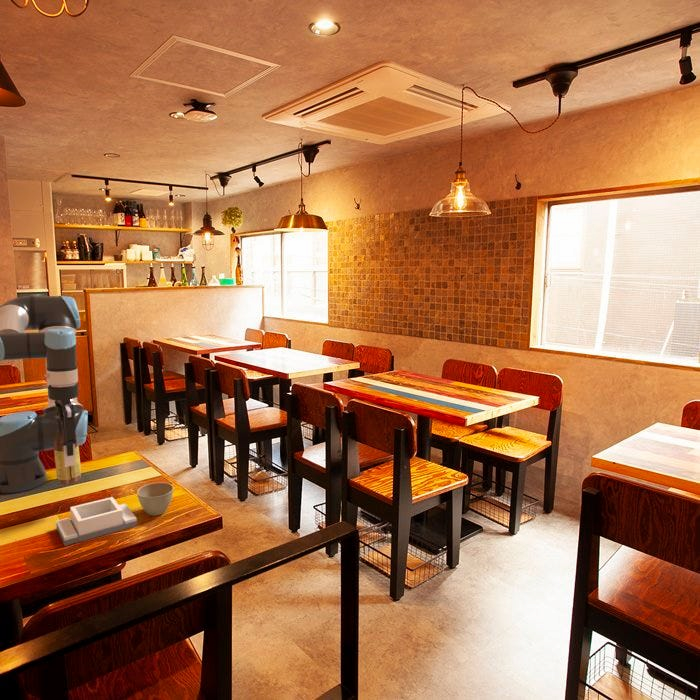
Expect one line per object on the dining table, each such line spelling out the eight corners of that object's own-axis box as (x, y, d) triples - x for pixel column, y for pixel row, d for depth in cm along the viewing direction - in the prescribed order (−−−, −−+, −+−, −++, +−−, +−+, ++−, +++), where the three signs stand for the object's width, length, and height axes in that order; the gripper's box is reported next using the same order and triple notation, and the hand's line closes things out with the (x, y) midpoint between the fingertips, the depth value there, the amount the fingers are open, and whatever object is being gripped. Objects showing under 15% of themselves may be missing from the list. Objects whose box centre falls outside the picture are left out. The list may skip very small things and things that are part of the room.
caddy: (56, 528, 141) (55, 509, 140) (125, 510, 152) (124, 493, 151) (64, 546, 133) (63, 526, 132) (137, 525, 144) (136, 507, 143)
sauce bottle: (79, 474, 153) (75, 410, 150) (83, 482, 149) (79, 416, 145) (54, 479, 150) (50, 414, 146) (57, 487, 145) (53, 420, 141)
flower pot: (139, 506, 155) (138, 484, 154) (174, 502, 158) (173, 480, 157) (136, 522, 146) (135, 498, 145) (173, 518, 149) (173, 494, 148)
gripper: (41, 378, 149) (46, 454, 153) (54, 393, 134) (59, 476, 138) (70, 375, 154) (74, 449, 158) (85, 389, 139) (89, 469, 143)
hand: (67, 461), depth 148 cm, fingers closed on sauce bottle, 6 cm apart
